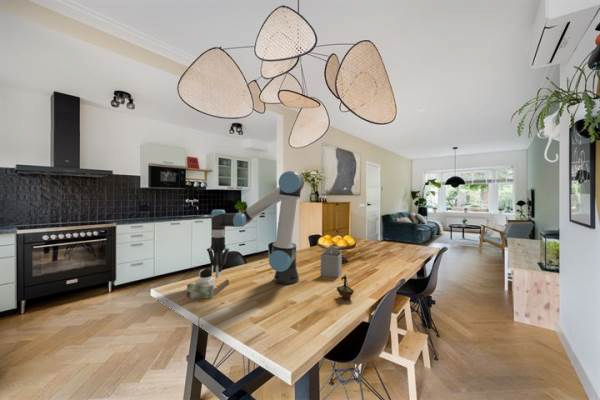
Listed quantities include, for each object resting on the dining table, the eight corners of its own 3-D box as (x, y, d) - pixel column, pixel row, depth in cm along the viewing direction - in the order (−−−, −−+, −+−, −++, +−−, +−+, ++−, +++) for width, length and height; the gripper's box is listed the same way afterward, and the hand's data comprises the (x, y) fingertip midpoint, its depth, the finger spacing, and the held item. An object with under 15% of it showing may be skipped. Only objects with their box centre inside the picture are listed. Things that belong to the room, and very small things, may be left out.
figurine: (357, 301, 116) (357, 276, 116) (342, 303, 114) (342, 278, 114) (347, 293, 126) (347, 270, 126) (333, 295, 123) (333, 271, 123)
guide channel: (228, 284, 137) (228, 273, 137) (211, 298, 118) (211, 286, 118) (207, 282, 139) (207, 272, 139) (187, 296, 119) (187, 284, 119)
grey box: (327, 279, 147) (327, 248, 147) (320, 275, 154) (320, 245, 154) (348, 276, 154) (348, 246, 154) (341, 272, 161) (341, 243, 161)
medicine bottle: (215, 290, 128) (215, 268, 128) (208, 295, 121) (208, 272, 121) (202, 289, 129) (202, 267, 129) (195, 294, 122) (195, 271, 122)
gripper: (231, 235, 140) (231, 275, 141) (210, 235, 142) (210, 274, 142) (226, 237, 133) (226, 280, 133) (204, 237, 135) (203, 279, 135)
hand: (218, 277), depth 138 cm, fingers closed
